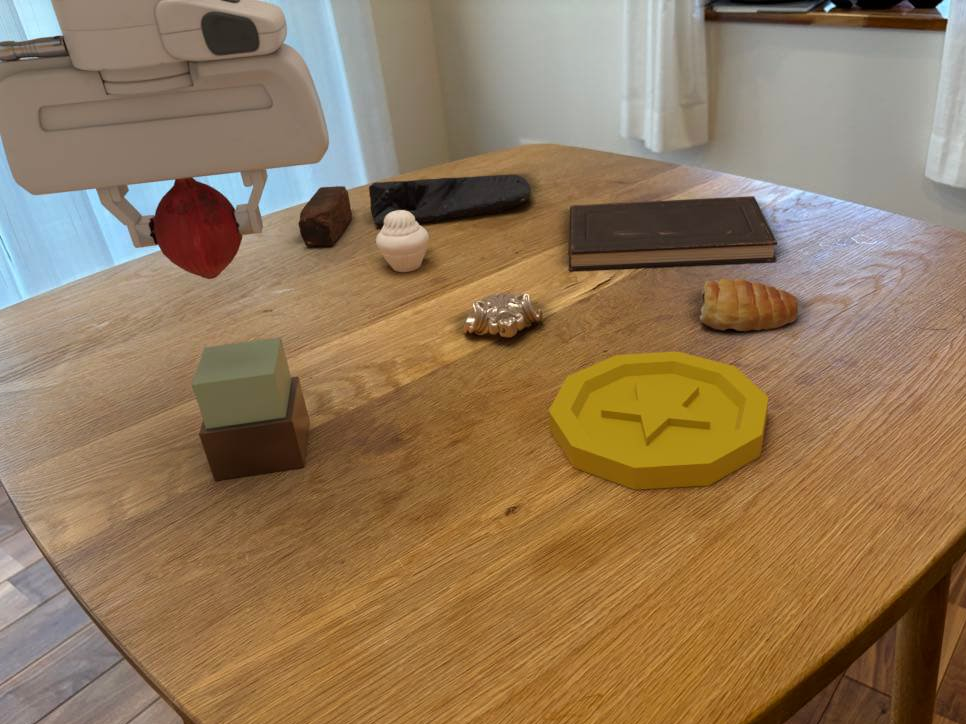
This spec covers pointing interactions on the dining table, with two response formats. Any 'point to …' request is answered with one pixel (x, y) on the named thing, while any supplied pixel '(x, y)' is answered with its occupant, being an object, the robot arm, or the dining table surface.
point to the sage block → (242, 383)
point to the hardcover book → (669, 234)
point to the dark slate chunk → (448, 197)
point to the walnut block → (260, 442)
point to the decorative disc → (659, 420)
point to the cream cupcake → (402, 241)
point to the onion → (197, 228)
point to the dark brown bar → (325, 216)
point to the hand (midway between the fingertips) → (201, 237)
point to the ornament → (501, 315)
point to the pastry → (746, 305)
